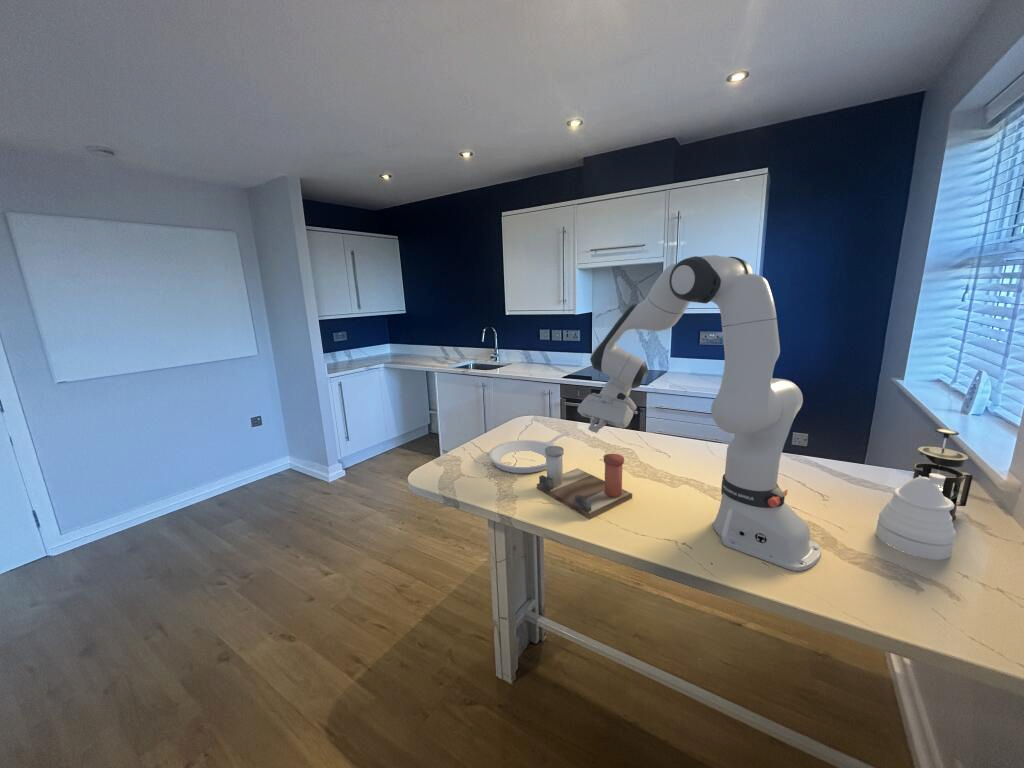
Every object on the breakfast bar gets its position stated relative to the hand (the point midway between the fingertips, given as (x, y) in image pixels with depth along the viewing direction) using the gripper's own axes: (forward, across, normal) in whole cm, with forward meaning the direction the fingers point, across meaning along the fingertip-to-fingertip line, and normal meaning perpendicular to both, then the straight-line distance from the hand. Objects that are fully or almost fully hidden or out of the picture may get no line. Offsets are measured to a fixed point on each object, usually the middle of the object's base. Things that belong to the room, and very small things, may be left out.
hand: (592, 431), depth 134 cm
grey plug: (+21, 0, -3) cm, 21 cm away
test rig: (+20, +8, +2) cm, 21 cm away
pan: (+15, -24, +7) cm, 29 cm away
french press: (-26, +74, +48) cm, 91 cm away
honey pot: (-11, +74, +33) cm, 82 cm away
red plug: (+15, +16, +4) cm, 22 cm away
